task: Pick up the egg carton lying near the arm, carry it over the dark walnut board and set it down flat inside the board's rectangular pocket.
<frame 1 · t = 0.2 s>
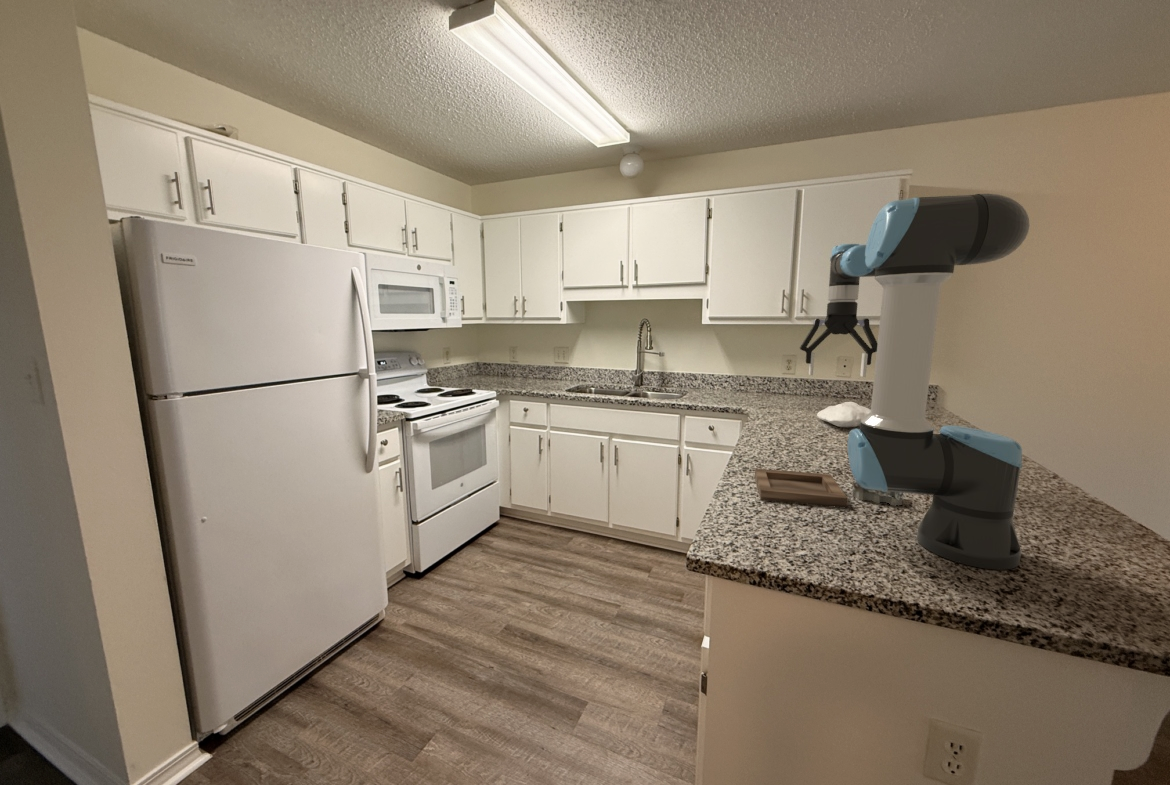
hand: (836, 375, 132), 27 cm above the worktop, tool pointing down, fingers open, 13 cm apart
egg carton: (875, 500, 112), on the worktop
pocket board: (796, 491, 117), on the worktop
crumpled cloth: (847, 425, 190), on the worktop
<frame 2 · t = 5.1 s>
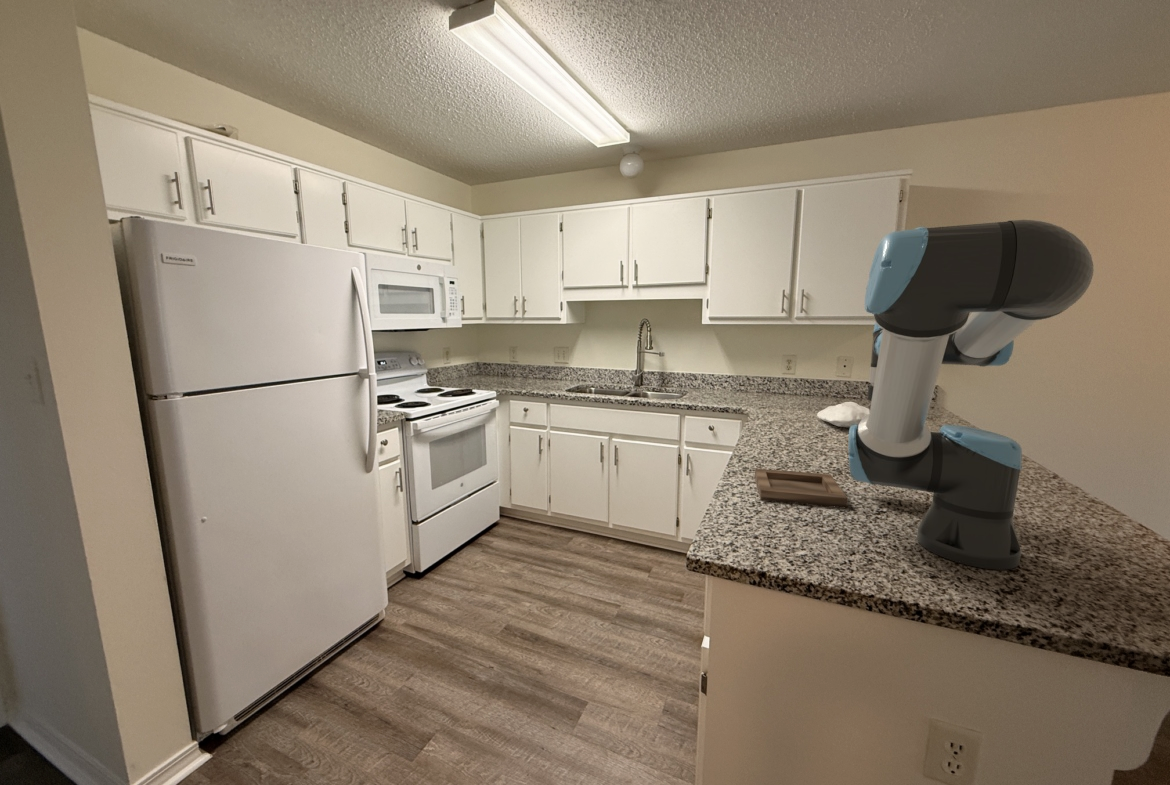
hand: (878, 478, 110), 5 cm above the worktop, tool pointing down, fingers closed on egg carton, 8 cm apart
egg carton: (878, 480, 111), point 5 cm above the worktop, touching gripper
everything else where it was.
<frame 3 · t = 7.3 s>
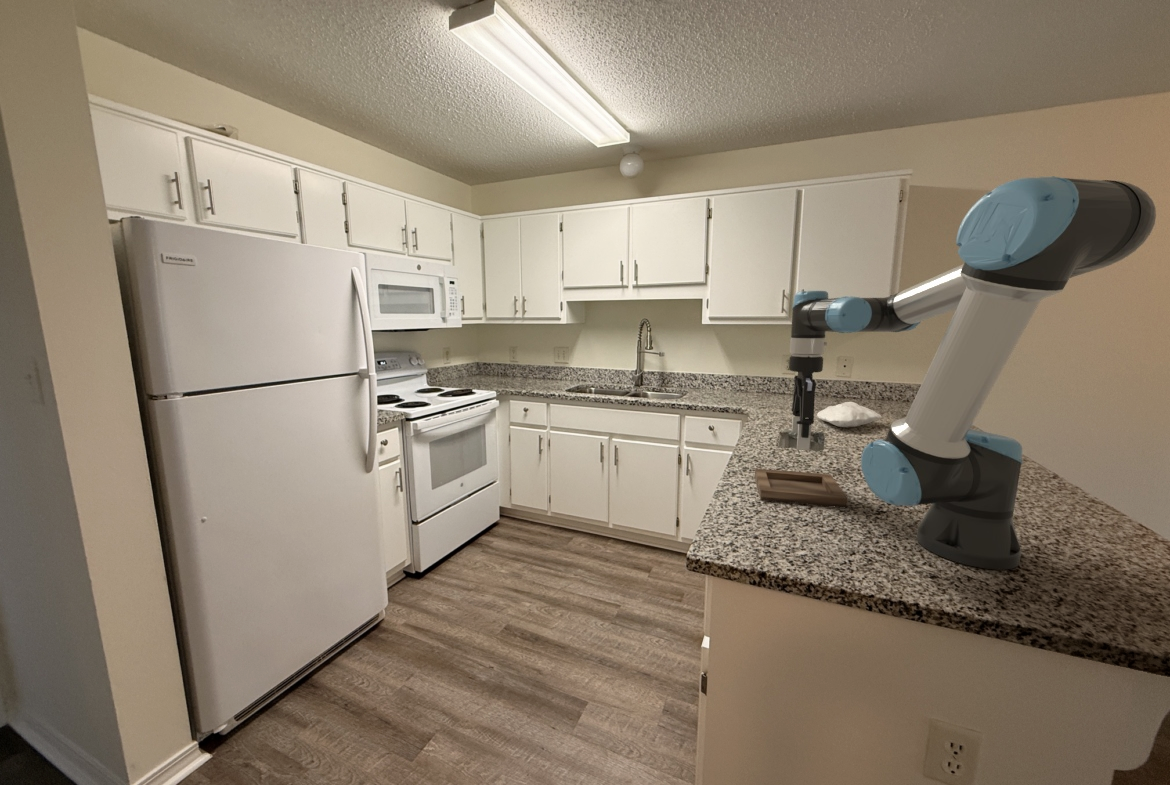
hand: (799, 445, 115), 12 cm above the worktop, tool pointing down, fingers closed on egg carton, 8 cm apart
egg carton: (800, 447, 115), point 12 cm above the worktop, touching gripper
everything else where it was.
when the fingers open (2 cm above the worktop, at t = 9.8 s): egg carton moves 1 cm, resting on pocket board.
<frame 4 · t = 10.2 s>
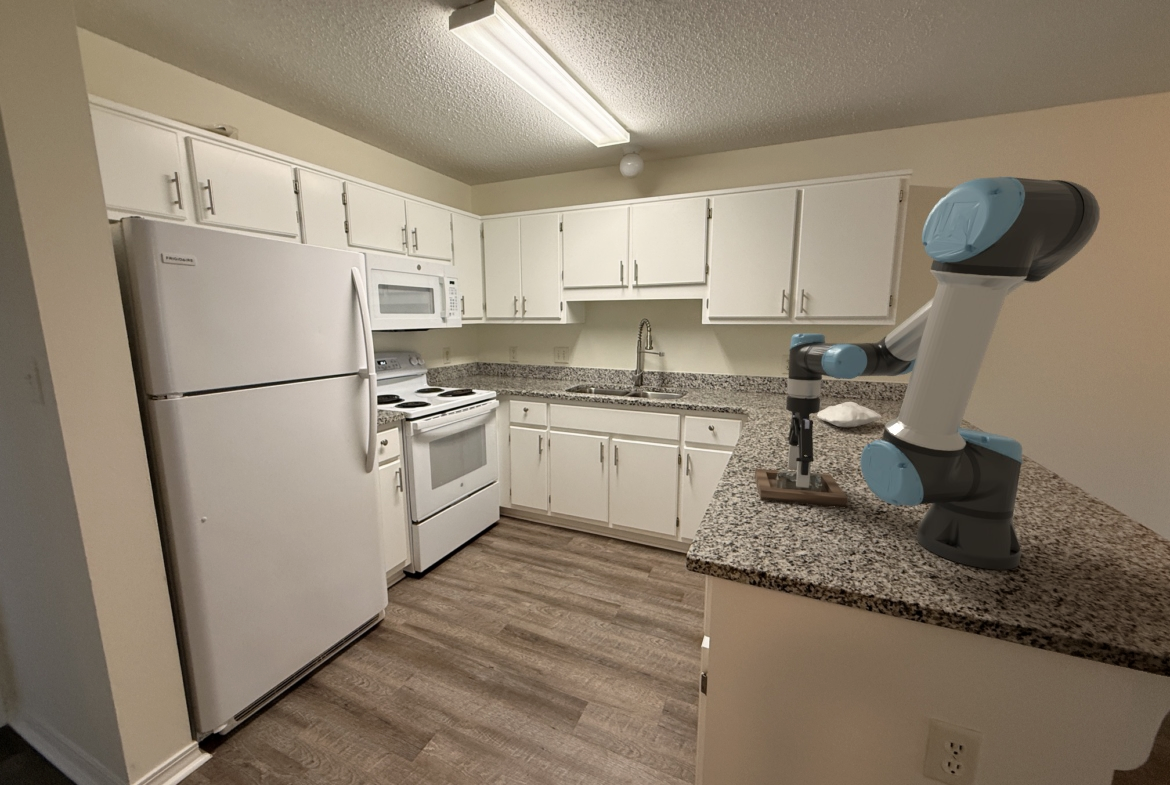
hand: (797, 477, 116), 4 cm above the worktop, tool pointing down, fingers open, 13 cm apart
egg carton: (797, 488, 117), point 1 cm above the worktop, touching pocket board
everything else where it was.
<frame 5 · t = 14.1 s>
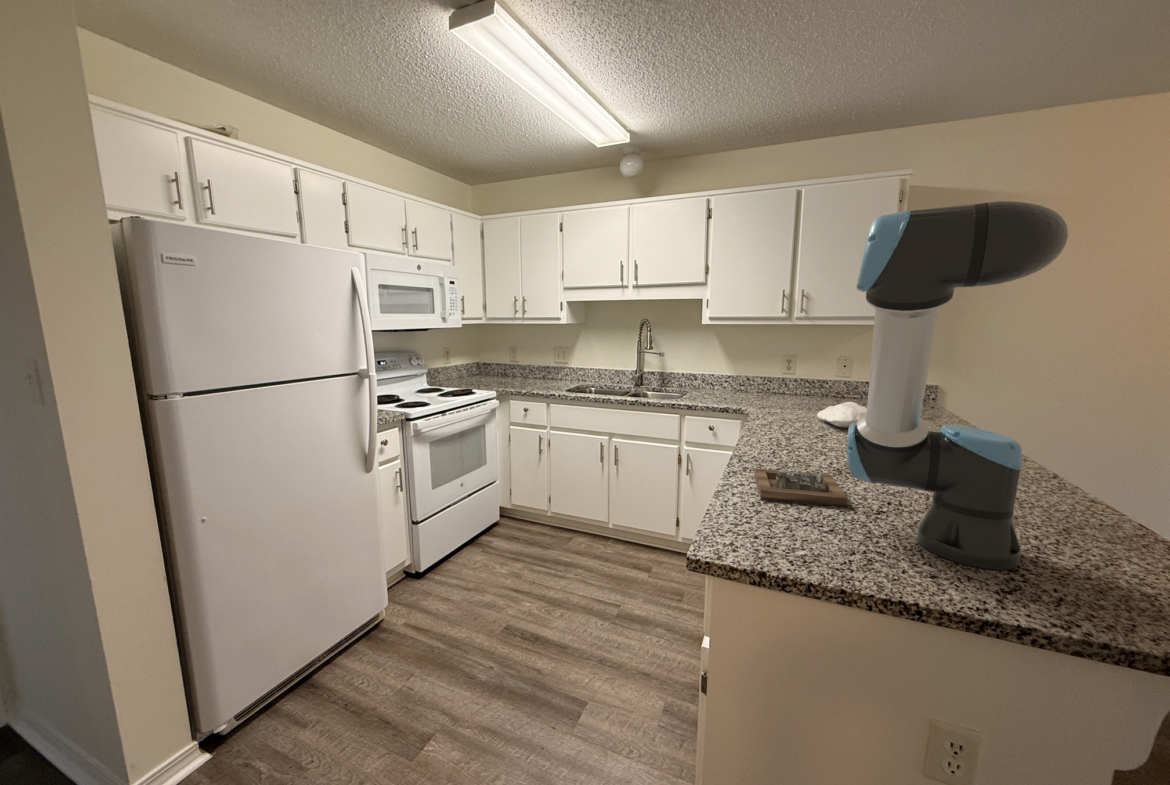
hand: (894, 379, 114), 29 cm above the worktop, tool pointing down, fingers open, 13 cm apart
nothing on the worktop moved.
at the end: egg carton 0.4 cm off-centre on the pocket board, point 0.6 cm above the pocket board's base; egg carton tilted 0°; the gripper is holding nothing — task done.
